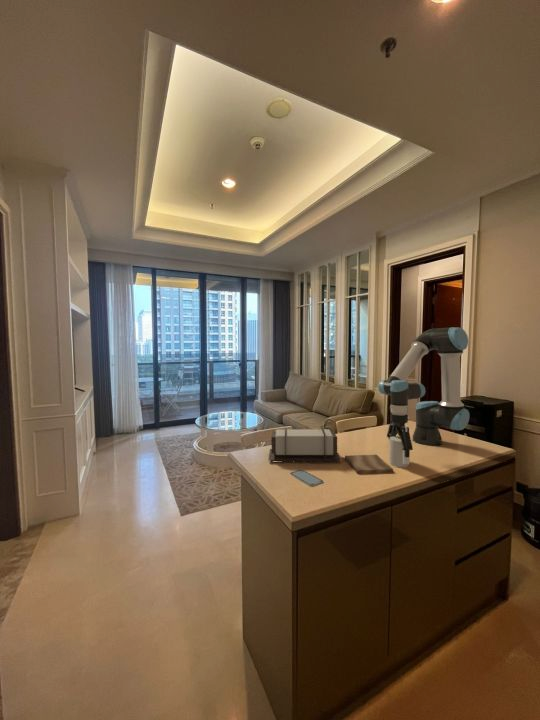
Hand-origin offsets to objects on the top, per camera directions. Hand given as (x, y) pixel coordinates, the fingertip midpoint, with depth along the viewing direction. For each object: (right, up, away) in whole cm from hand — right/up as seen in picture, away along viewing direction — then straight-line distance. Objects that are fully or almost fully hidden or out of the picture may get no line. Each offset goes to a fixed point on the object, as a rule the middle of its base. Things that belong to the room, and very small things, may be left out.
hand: (398, 458), depth 143 cm
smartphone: (-45, -5, -13) cm, 47 cm away
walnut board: (-15, -3, -1) cm, 15 cm away
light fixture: (-44, -3, +10) cm, 45 cm away
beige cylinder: (0, -3, 0) cm, 3 cm away
